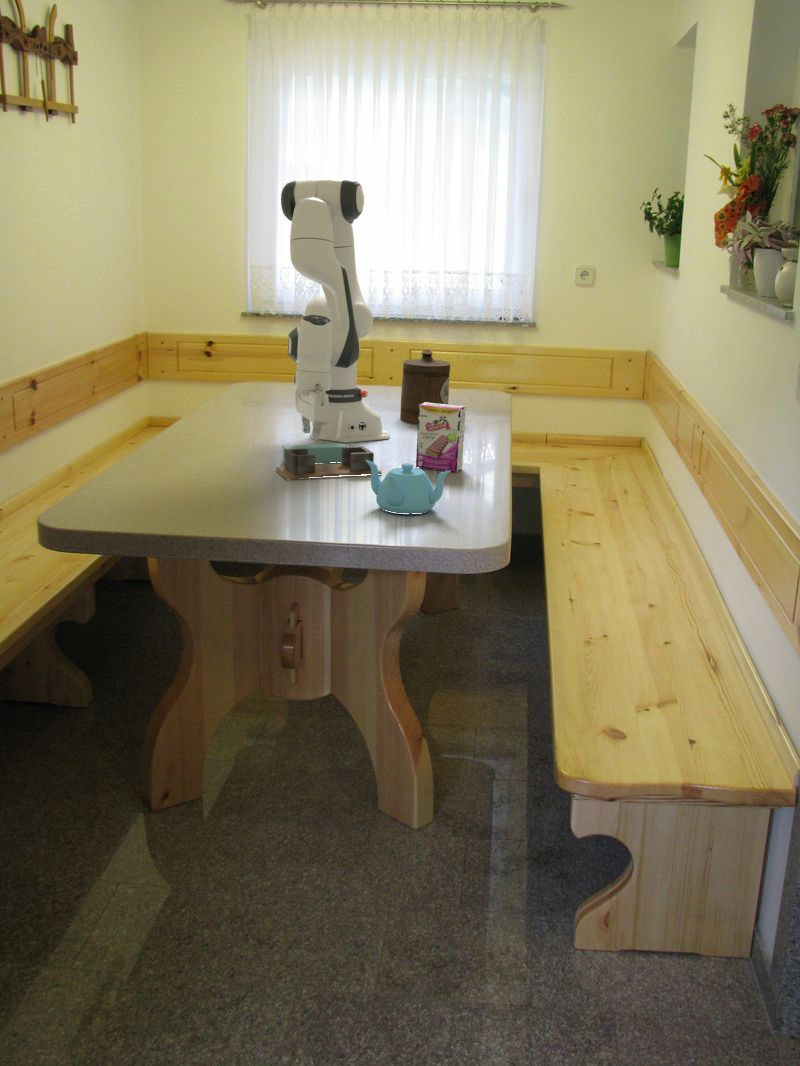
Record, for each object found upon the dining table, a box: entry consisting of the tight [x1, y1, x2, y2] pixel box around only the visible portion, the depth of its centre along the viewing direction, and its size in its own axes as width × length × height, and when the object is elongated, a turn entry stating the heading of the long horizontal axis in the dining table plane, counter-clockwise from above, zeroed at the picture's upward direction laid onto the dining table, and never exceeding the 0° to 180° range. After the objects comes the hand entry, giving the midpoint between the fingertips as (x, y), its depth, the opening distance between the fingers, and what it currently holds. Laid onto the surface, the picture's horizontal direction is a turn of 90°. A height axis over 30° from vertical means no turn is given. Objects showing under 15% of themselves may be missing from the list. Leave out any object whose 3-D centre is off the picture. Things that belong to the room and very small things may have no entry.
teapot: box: [366, 460, 452, 514], centre depth 241 cm, size 15×15×10 cm
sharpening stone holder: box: [276, 445, 382, 480], centre depth 272 cm, size 24×10×6 cm, turn 110°
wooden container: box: [399, 349, 451, 425], centre depth 343 cm, size 15×15×22 cm
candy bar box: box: [415, 402, 466, 473], centre depth 279 cm, size 11×5×16 cm, turn 71°
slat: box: [282, 443, 348, 464], centre depth 283 cm, size 16×4×4 cm, turn 110°
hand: (310, 436), depth 280 cm, fingers open, 8 cm apart
